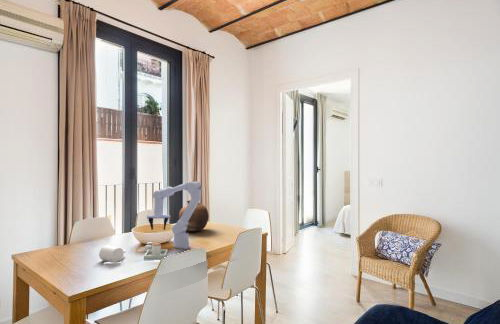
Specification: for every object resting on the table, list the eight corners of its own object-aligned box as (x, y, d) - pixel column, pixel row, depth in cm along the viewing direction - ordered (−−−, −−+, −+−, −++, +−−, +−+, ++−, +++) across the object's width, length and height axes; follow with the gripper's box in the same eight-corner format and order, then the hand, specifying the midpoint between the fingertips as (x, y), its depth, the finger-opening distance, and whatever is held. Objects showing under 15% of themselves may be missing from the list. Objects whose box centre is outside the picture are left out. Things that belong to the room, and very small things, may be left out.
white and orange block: (158, 254, 174) (158, 242, 174) (160, 255, 171) (160, 243, 170) (151, 255, 172) (151, 243, 172) (153, 257, 168) (153, 244, 168)
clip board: (161, 247, 188) (161, 241, 188) (159, 252, 178) (159, 246, 178) (138, 248, 186) (138, 242, 185) (135, 253, 176) (135, 246, 176)
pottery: (205, 234, 223) (206, 201, 223) (175, 234, 223) (176, 201, 223) (210, 227, 246) (210, 197, 245) (182, 227, 246) (183, 197, 246)
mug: (111, 265, 157) (111, 250, 157) (98, 261, 161) (98, 247, 161) (129, 258, 168) (129, 244, 167) (117, 255, 172) (117, 241, 172)
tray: (167, 253, 178) (167, 249, 178) (165, 259, 166) (165, 255, 166) (147, 253, 176) (147, 249, 176) (143, 260, 164) (143, 256, 164)
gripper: (170, 207, 198) (170, 227, 198) (148, 207, 196) (147, 228, 196) (169, 209, 191) (169, 230, 191) (146, 209, 189) (145, 230, 189)
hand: (158, 229), depth 193 cm, fingers open, 7 cm apart
